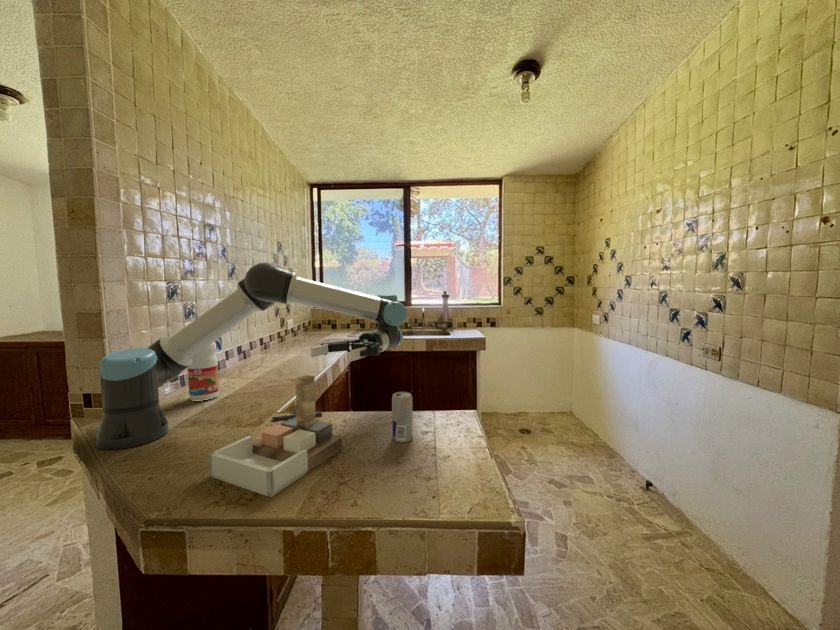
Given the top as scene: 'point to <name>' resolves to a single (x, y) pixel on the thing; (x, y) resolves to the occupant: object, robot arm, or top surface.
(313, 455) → the board
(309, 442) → the tile cream
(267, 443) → the tile terracotta
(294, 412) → the bracket
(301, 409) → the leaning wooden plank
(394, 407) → the energy drink
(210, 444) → the top surface
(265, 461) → the tray
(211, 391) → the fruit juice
